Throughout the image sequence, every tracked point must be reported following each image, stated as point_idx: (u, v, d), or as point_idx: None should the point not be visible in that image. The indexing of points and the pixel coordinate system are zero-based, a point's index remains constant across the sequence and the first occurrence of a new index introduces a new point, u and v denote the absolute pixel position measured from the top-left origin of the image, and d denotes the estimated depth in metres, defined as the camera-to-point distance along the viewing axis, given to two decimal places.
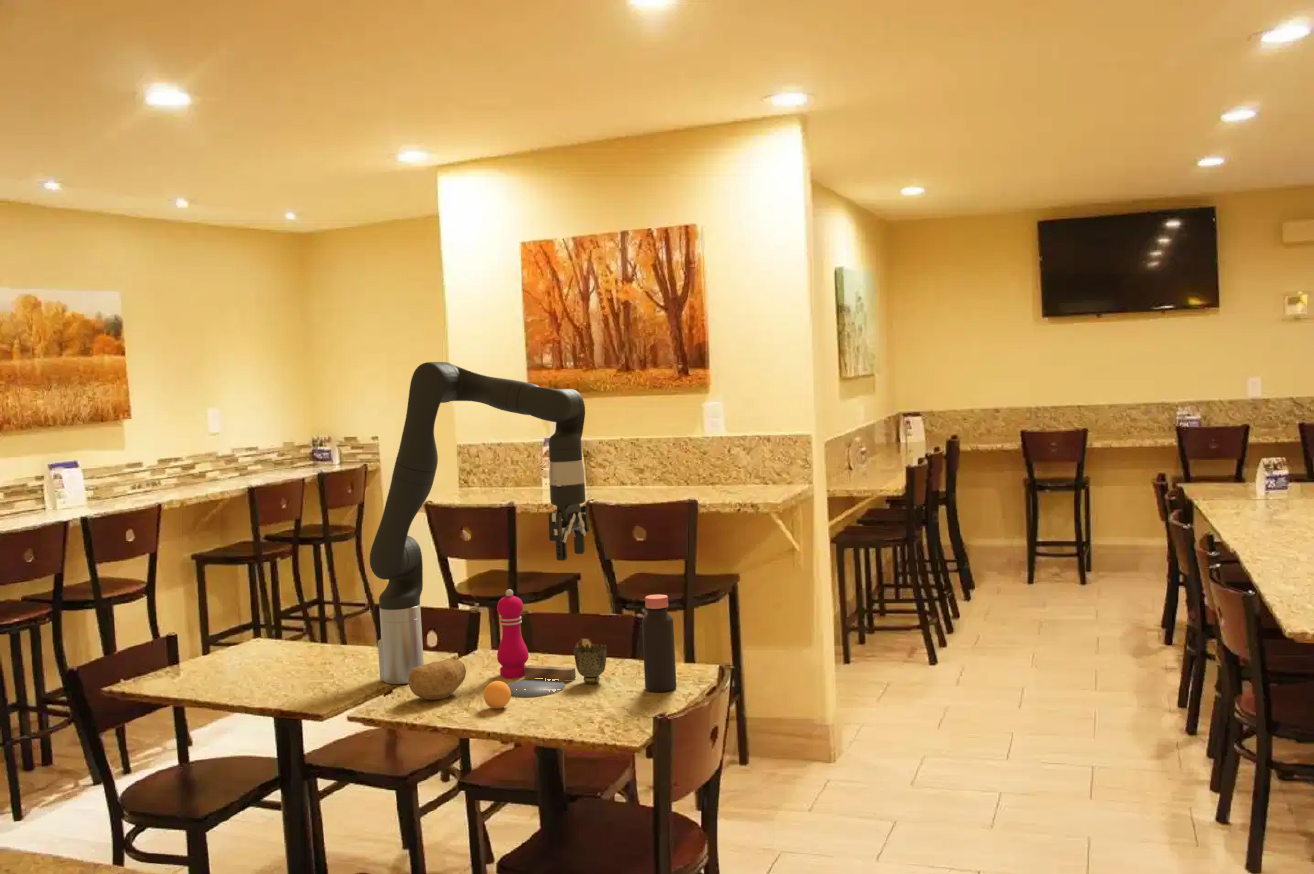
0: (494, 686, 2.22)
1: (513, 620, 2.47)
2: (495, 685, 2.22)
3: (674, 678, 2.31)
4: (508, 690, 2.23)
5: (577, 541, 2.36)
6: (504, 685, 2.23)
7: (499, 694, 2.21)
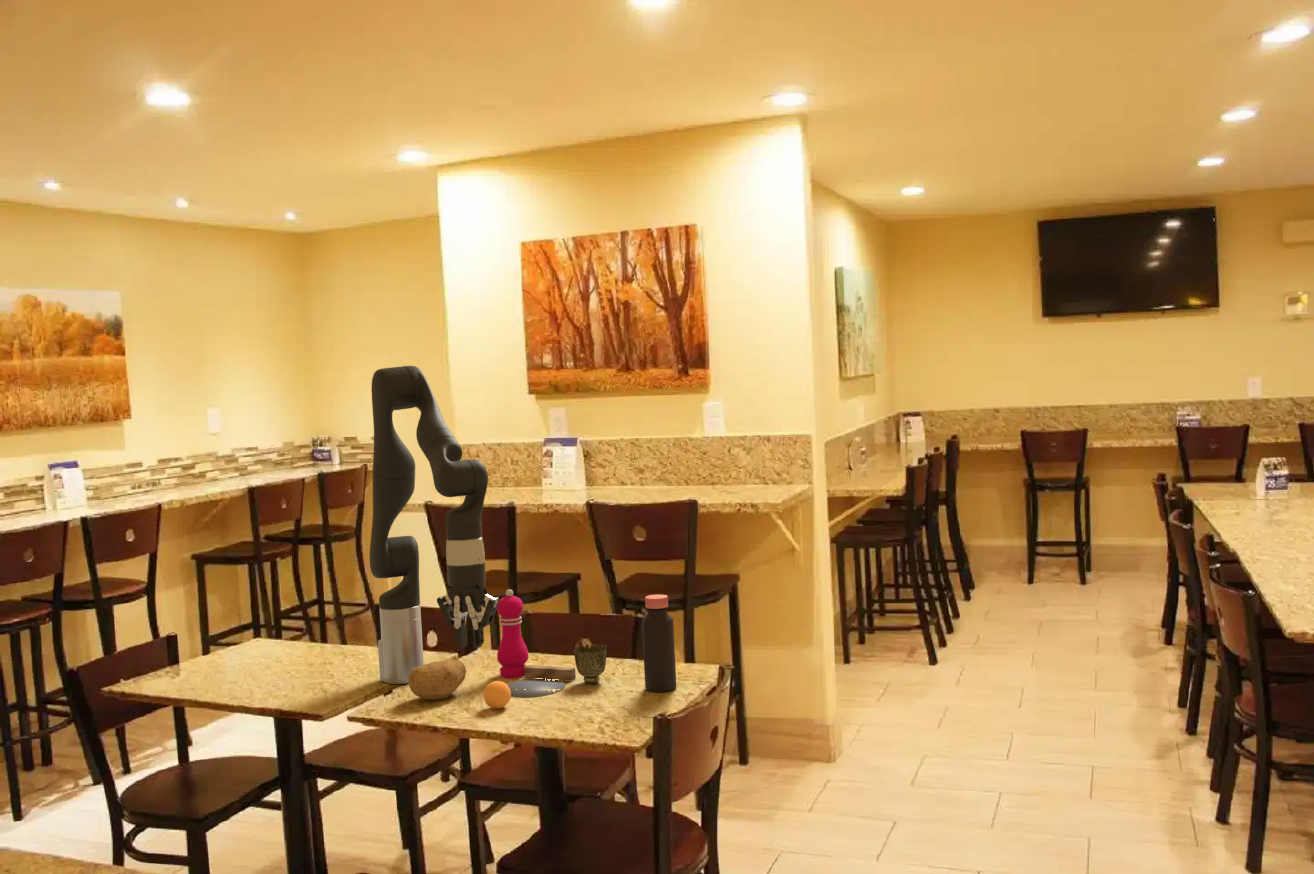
0: (494, 686, 2.22)
1: (513, 620, 2.47)
2: (495, 685, 2.22)
3: (674, 678, 2.31)
4: (508, 690, 2.23)
5: (463, 633, 2.15)
6: (504, 685, 2.23)
7: (499, 694, 2.21)
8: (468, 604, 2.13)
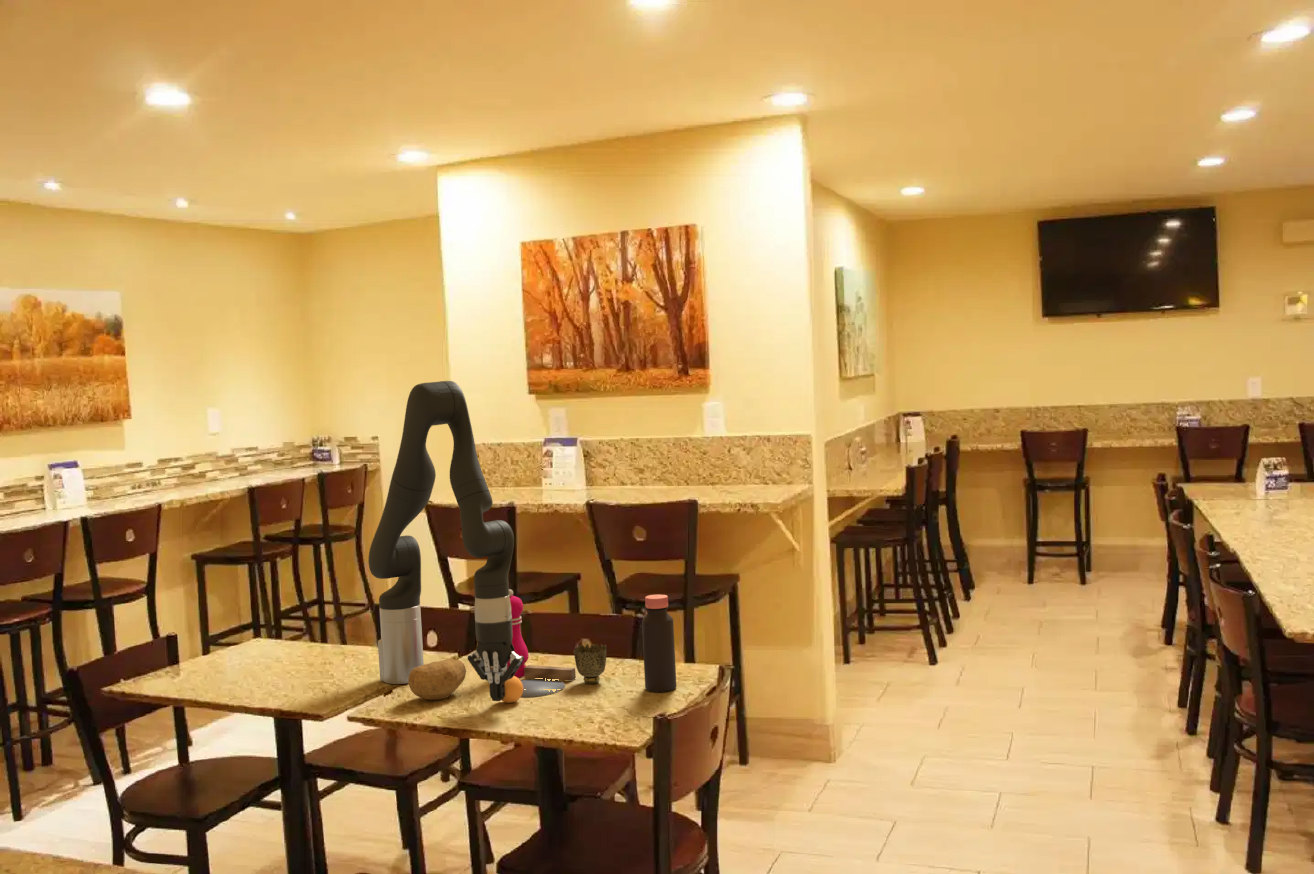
0: None
1: (513, 620, 2.47)
2: None
3: (674, 678, 2.31)
4: (522, 689, 2.28)
5: None
6: None
7: (517, 680, 2.27)
8: (494, 659, 2.22)
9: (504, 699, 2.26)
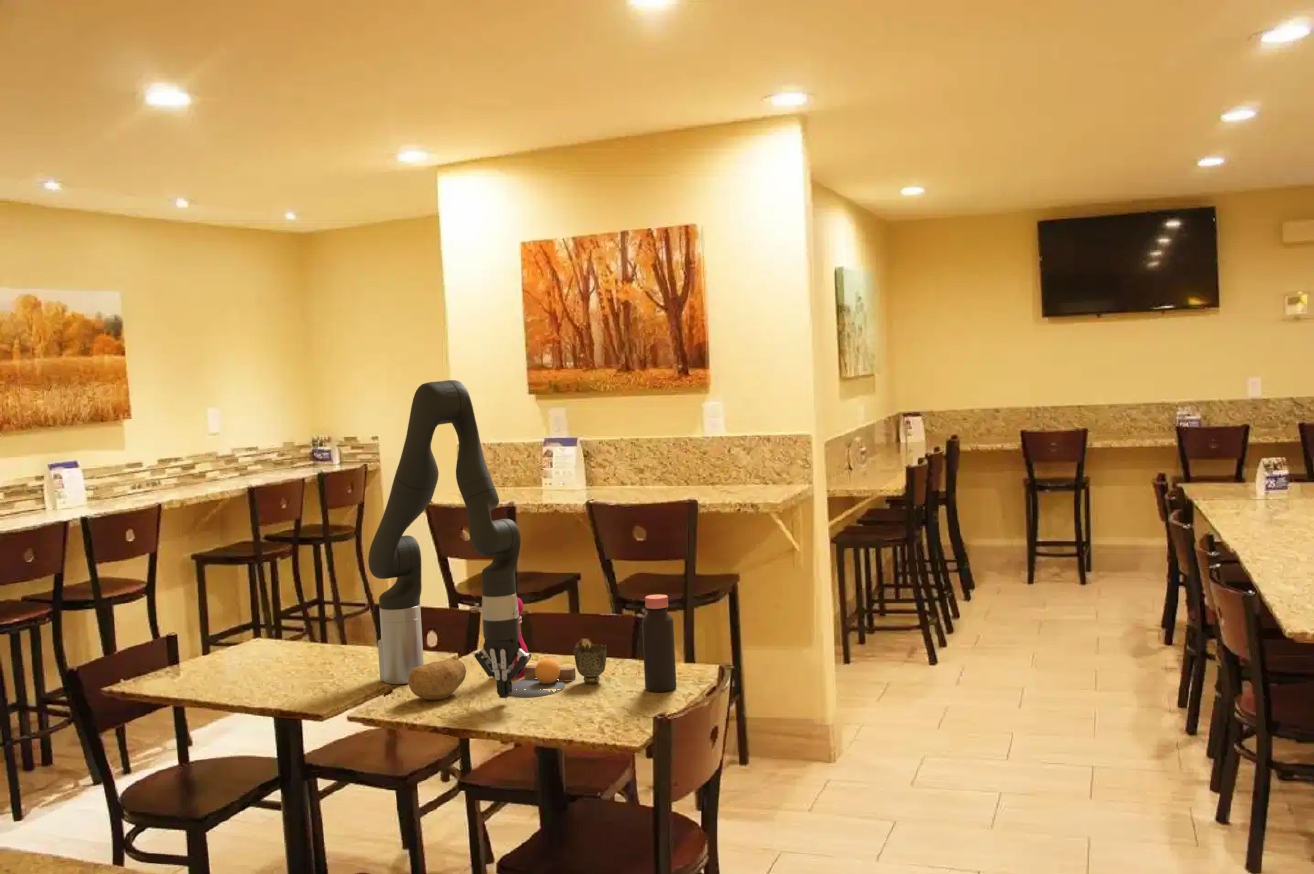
0: (546, 662, 2.39)
1: None
2: (547, 661, 2.40)
3: (674, 678, 2.31)
4: (558, 667, 2.40)
5: None
6: (555, 662, 2.40)
7: (550, 669, 2.38)
8: (502, 656, 2.24)
9: None
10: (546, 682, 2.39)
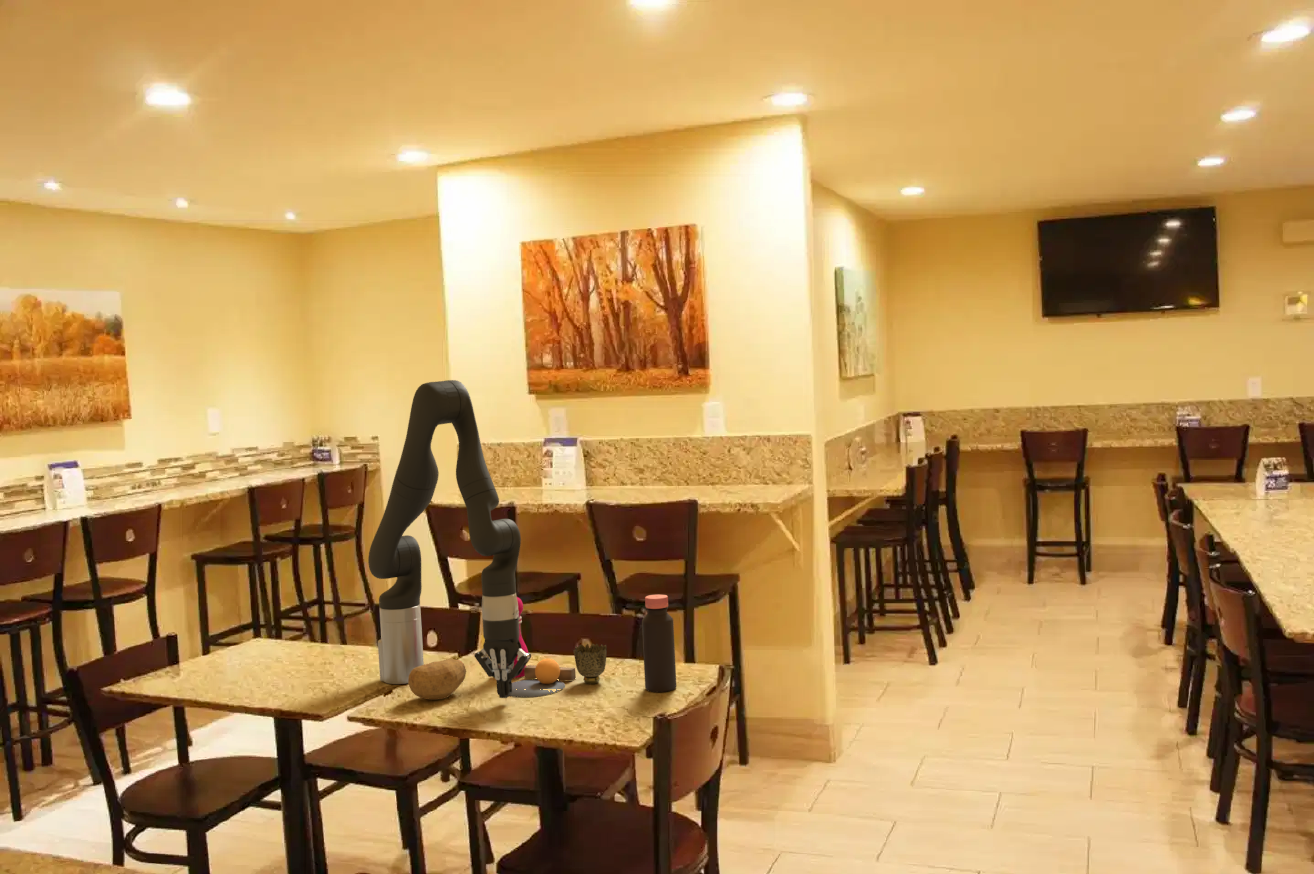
0: (546, 662, 2.39)
1: None
2: (547, 661, 2.40)
3: (674, 678, 2.31)
4: (558, 667, 2.40)
5: None
6: (555, 662, 2.40)
7: (550, 669, 2.38)
8: (502, 656, 2.24)
9: None
10: (546, 682, 2.39)
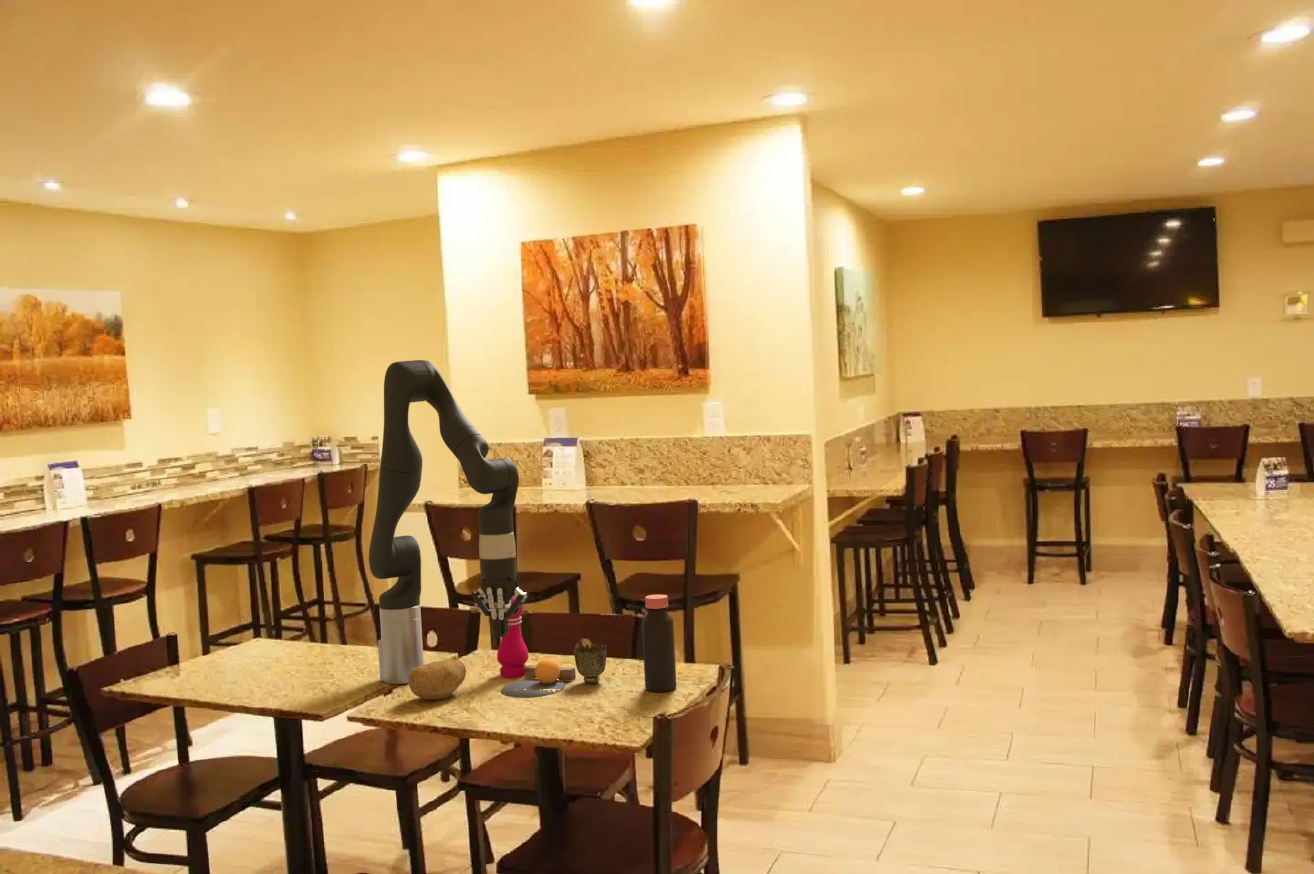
0: (546, 662, 2.39)
1: (513, 620, 2.47)
2: (547, 661, 2.40)
3: (674, 678, 2.31)
4: (558, 667, 2.40)
5: None
6: (555, 662, 2.40)
7: (550, 669, 2.38)
8: (499, 595, 2.24)
9: None
10: (546, 682, 2.39)
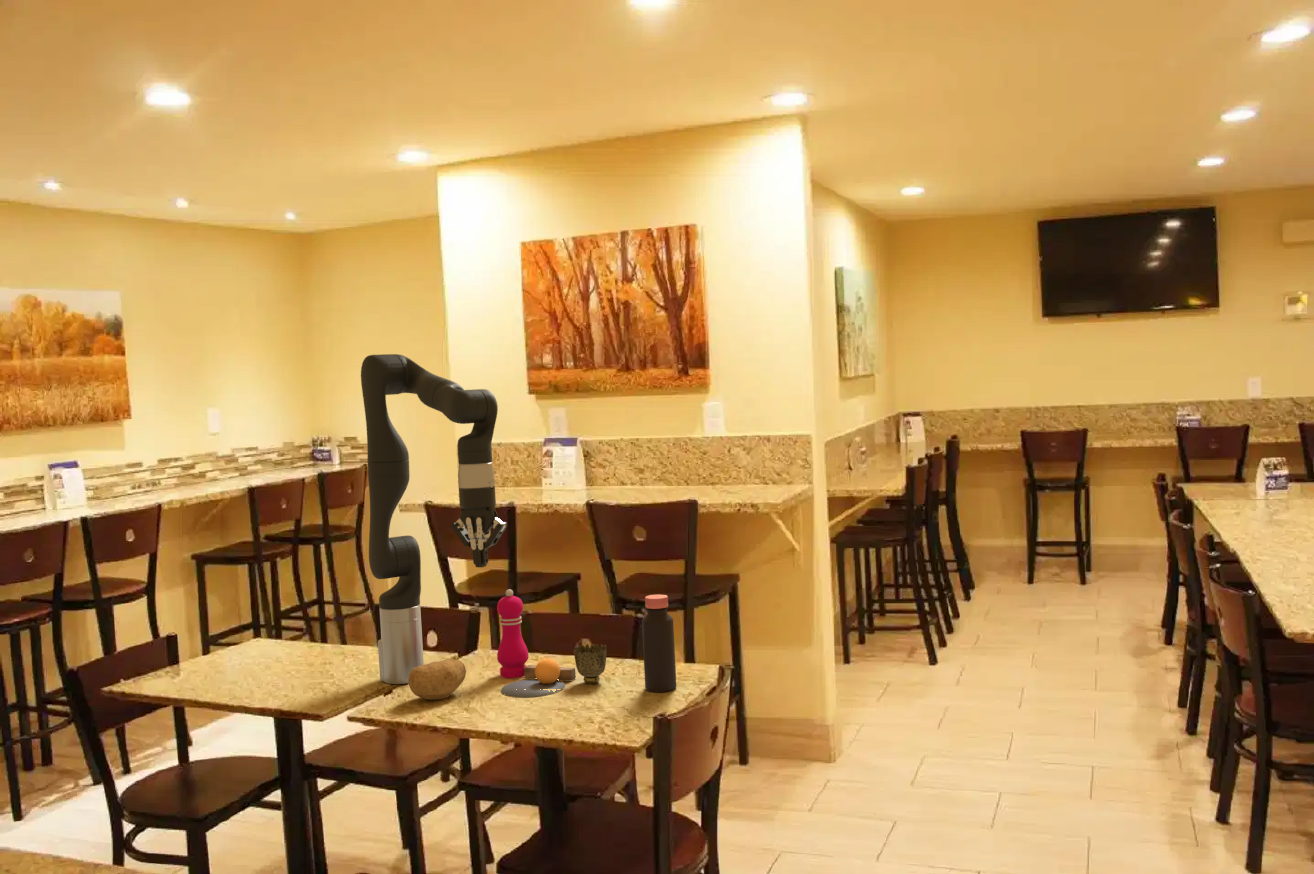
0: (546, 662, 2.39)
1: (513, 620, 2.47)
2: (547, 661, 2.40)
3: (674, 678, 2.31)
4: (558, 667, 2.40)
5: None
6: (555, 662, 2.40)
7: (550, 669, 2.38)
8: (478, 525, 2.25)
9: None
10: (546, 682, 2.39)
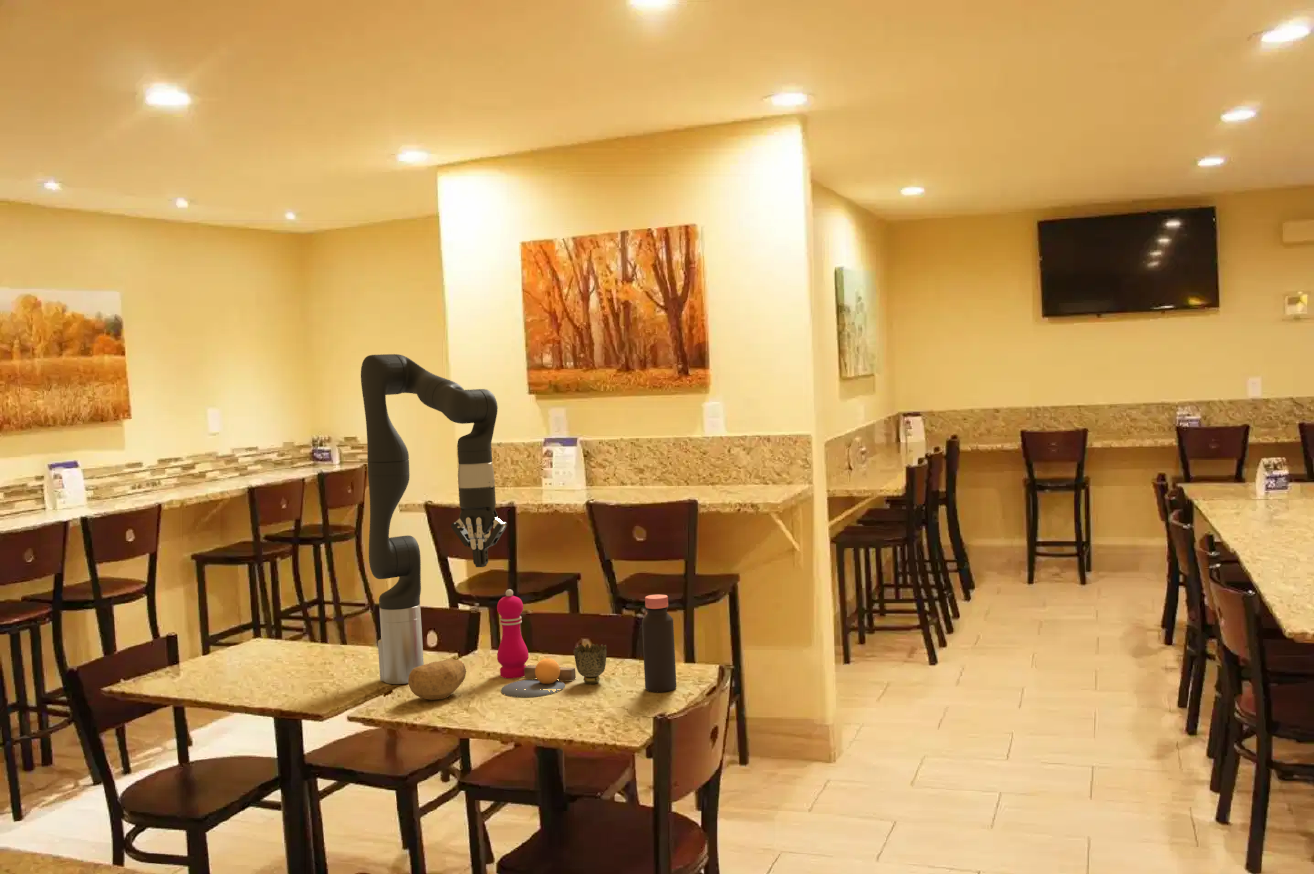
0: (546, 662, 2.39)
1: (513, 620, 2.47)
2: (547, 661, 2.40)
3: (674, 678, 2.31)
4: (558, 667, 2.40)
5: None
6: (555, 662, 2.40)
7: (550, 669, 2.38)
8: (478, 525, 2.25)
9: None
10: (546, 682, 2.39)
